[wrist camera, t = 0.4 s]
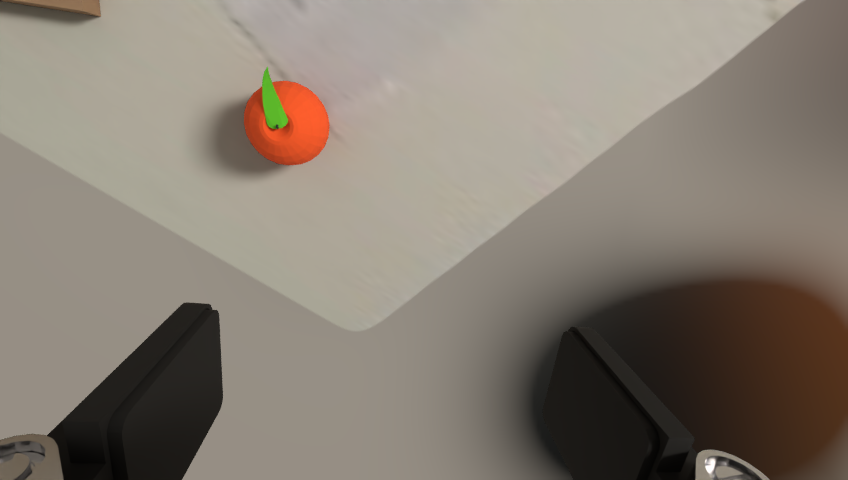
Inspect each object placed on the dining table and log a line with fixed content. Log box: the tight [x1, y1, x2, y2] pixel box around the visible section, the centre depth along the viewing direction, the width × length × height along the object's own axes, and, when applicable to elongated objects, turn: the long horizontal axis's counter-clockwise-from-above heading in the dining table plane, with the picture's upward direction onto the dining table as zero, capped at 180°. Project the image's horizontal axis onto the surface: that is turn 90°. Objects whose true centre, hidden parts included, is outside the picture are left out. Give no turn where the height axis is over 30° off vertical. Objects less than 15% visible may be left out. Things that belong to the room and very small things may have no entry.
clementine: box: [244, 67, 329, 165], centre depth 34 cm, size 8×7×7 cm
